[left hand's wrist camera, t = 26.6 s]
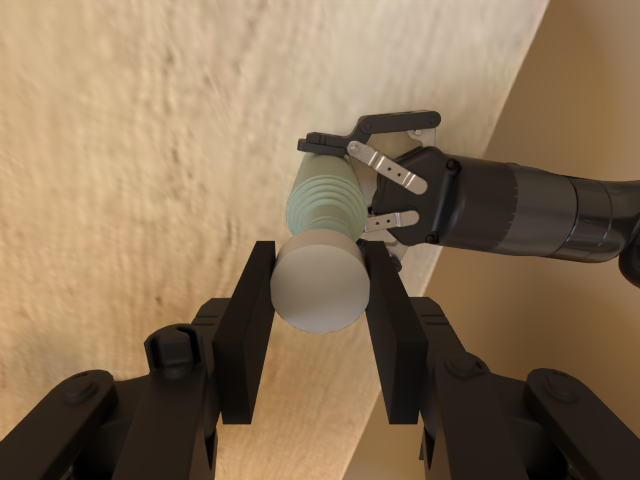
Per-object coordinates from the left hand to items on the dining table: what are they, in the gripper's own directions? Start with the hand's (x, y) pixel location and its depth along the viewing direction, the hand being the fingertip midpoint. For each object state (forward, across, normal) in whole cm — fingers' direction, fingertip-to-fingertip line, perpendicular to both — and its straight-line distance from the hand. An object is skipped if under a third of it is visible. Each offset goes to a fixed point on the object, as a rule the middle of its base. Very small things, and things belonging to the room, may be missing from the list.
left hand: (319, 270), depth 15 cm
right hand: (+15, -2, +1) cm, 15 cm away
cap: (-1, 0, 0) cm, 1 cm away
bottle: (+22, +1, 0) cm, 22 cm away
